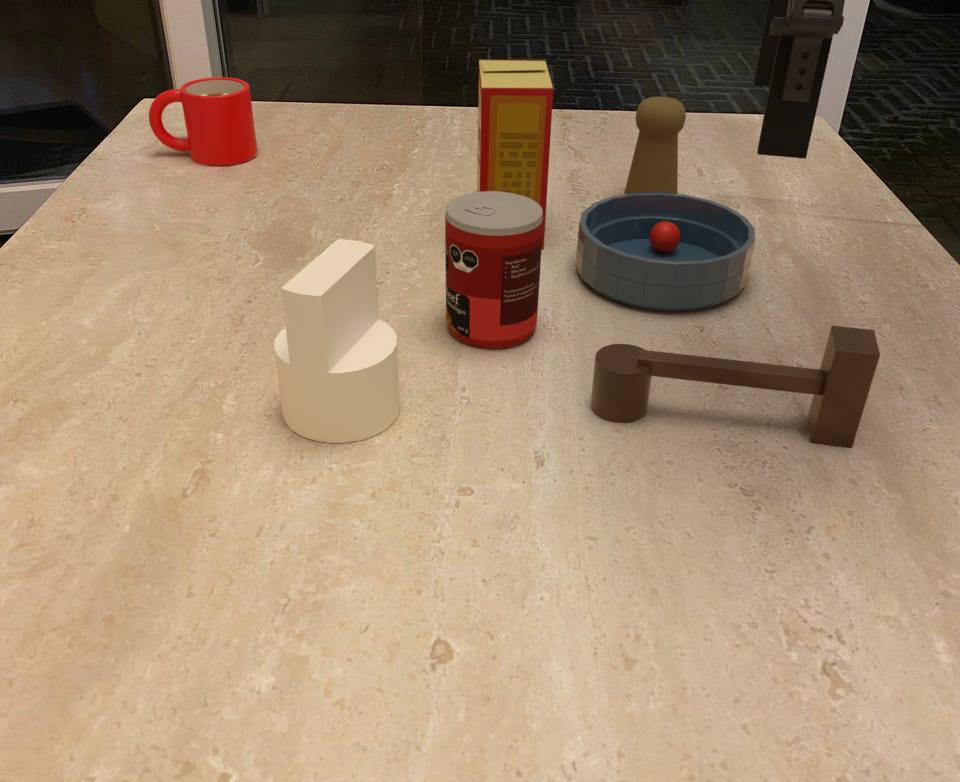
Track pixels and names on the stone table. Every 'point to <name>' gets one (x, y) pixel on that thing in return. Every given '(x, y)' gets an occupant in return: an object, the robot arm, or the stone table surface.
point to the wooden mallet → (748, 381)
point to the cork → (656, 146)
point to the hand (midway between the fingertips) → (777, 117)
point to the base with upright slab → (337, 349)
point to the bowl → (664, 276)
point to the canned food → (492, 268)
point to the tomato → (664, 236)
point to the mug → (210, 120)
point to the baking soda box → (514, 128)
